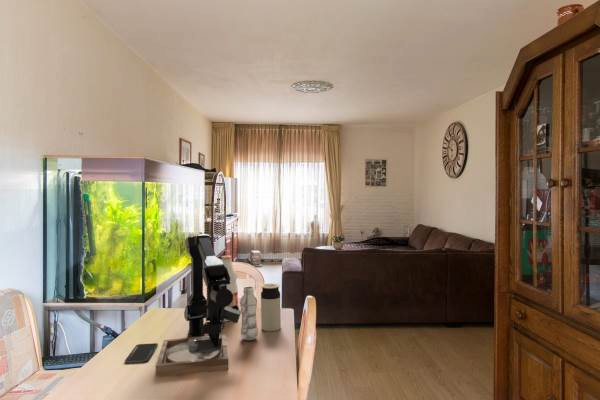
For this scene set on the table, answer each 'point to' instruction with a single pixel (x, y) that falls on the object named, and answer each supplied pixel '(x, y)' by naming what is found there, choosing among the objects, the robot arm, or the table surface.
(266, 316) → the travel mug
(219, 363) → the square wooden tray
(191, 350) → the dial
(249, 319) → the plastic bottle
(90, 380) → the table surface
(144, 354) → the phone
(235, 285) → the fruit juice
